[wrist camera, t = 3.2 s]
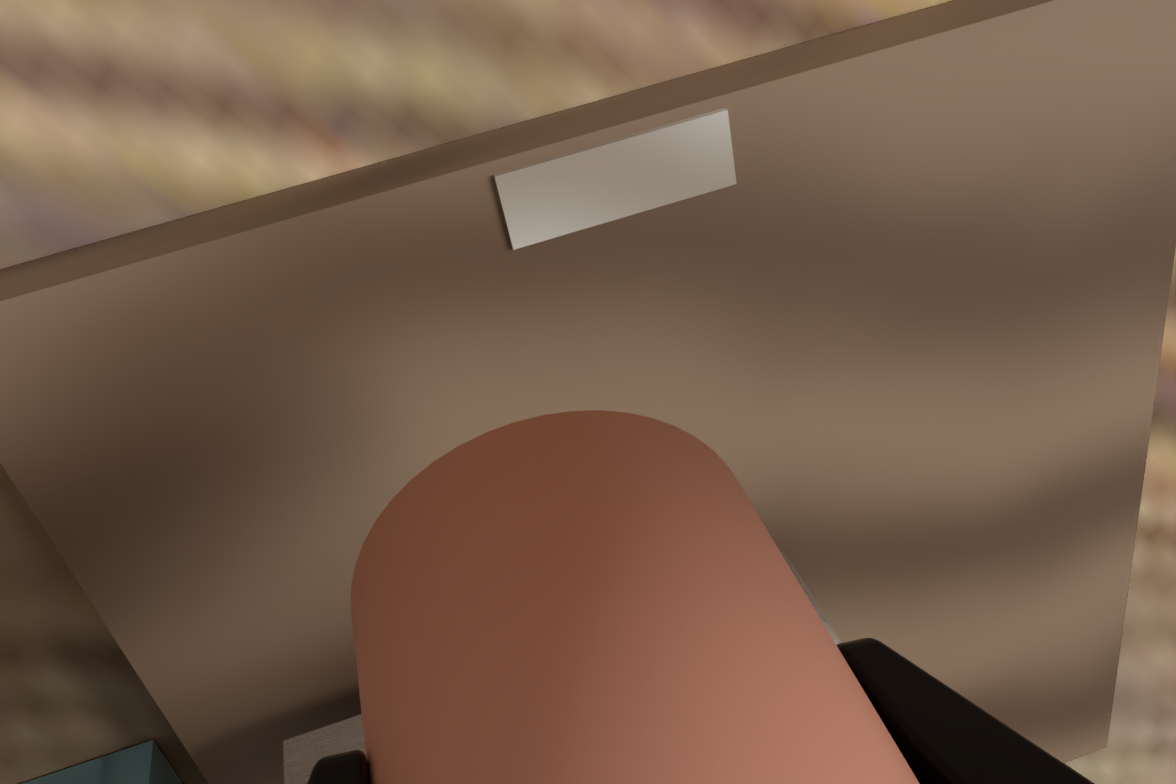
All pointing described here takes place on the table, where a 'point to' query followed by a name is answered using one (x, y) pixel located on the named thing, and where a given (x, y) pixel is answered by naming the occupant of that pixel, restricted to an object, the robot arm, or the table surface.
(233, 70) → the table surface
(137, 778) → the tray
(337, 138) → the table surface
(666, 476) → the pin
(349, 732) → the crank
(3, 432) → the crank base
